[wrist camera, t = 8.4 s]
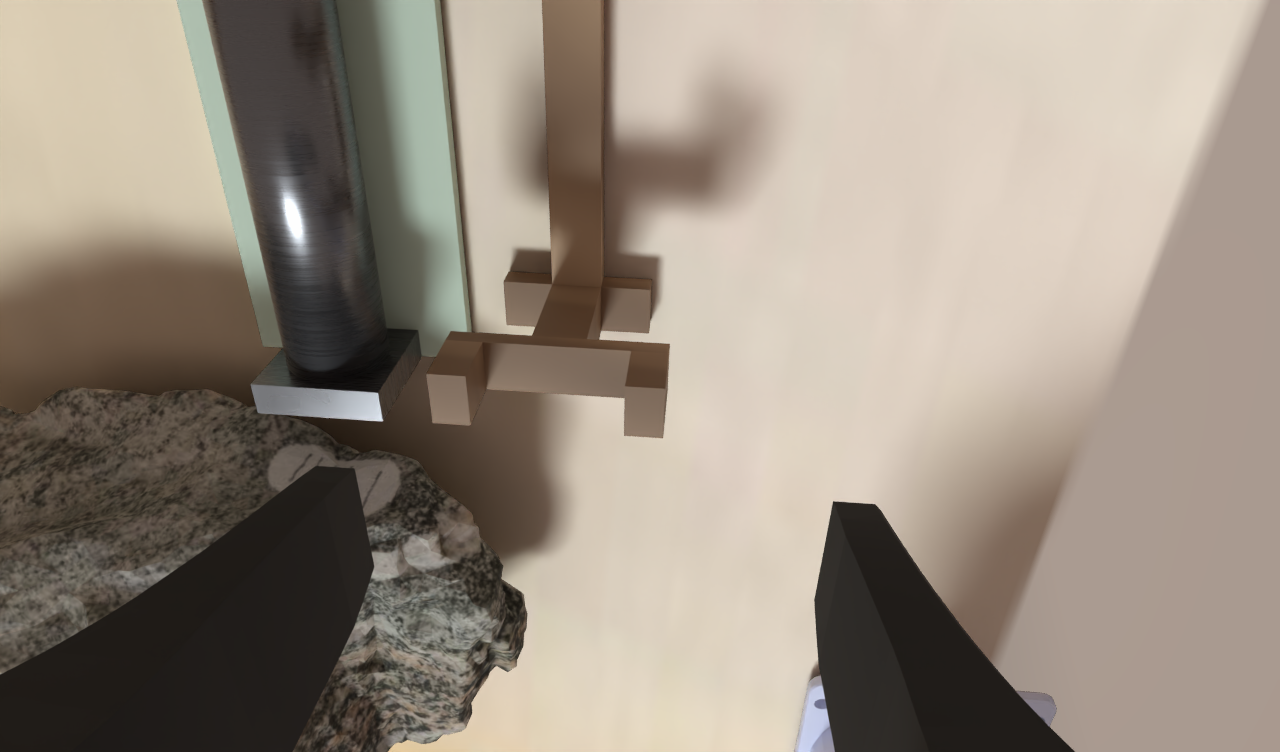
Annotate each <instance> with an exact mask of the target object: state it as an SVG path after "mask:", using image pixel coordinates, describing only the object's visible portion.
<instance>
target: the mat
mask: <svg viewBox="0 0 1280 752" xmlns="http://www.w3.org/2000/svg"><path fill="white" fill-rule="evenodd" d="M336 3H337V9H338V16H339V22H340V29H341V35H342V42H343V48H344V55H345V61H346V68H347V74H348V81H349V87H350V93H351V100H352V106H353V113H354V119H355V126H356V132H357V139H358V145H359V152H360V158H361V165H362V171H363V178H364V184H365V191H366V197H367V203H368V210H369V216H370V223H371V229H372V236H373V242H374V249H375V255H376V262H377V268H378V275H379V281H380V288H381V294H382V301H383V307H384V314H385V320H386V326H387V328H392V329H409V330H418V332H419V339H420V347H421V354H422V356H426V357H436V356H437V354H438V352H439V350H440V349H441V347H442V345H443V343H444V342H445V340H446V338H447V336H448V335H449V333H450V331H459V332H472V329H471V319H470V308H469V298H468V287H467V277H466V266H465V256H464V245H463V235H462V224H461V214H460V204H459V193H458V183H457V172H456V162H455V151H454V141H453V130H452V120H451V109H450V99H449V89H448V78H447V68H446V57H445V47H444V36H443V26H442V15H441V5H440V0H336ZM177 4H178V8H179V12H180V16H181V20H182V24H183V28H184V32H185V36H186V40H187V44H188V48H189V52H190V56H191V60H192V64H193V68H194V72H195V76H196V80H197V84H198V88H199V92H200V96H201V100H202V104H203V108H204V112H205V116H206V120H207V124H208V128H209V132H210V136H211V140H212V144H213V148H214V152H215V156H216V160H217V164H218V168H219V172H220V176H221V180H222V184H223V188H224V192H225V196H226V200H227V204H228V208H229V212H230V216H231V220H232V224H233V228H234V232H235V236H236V240H237V244H238V248H239V252H240V256H241V260H242V264H243V268H244V272H245V276H246V280H247V284H248V288H249V292H250V296H251V300H252V304H253V308H254V312H255V316H256V320H257V324H258V328H259V332H260V336H261V340H262V344H263V347H279V348H283V346H282V342H281V337H280V333H279V329H278V325H277V320H276V316H275V312H274V307H273V303H272V299H271V294H270V290H269V286H268V282H267V277H266V273H265V269H264V264H263V260H262V256H261V252H260V247H259V243H258V239H257V234H256V230H255V226H254V222H253V217H252V213H251V209H250V204H249V200H248V196H247V192H246V187H245V183H244V179H243V174H242V170H241V166H240V162H239V157H238V153H237V149H236V144H235V140H234V136H233V131H232V127H231V123H230V119H229V114H228V110H227V106H226V101H225V97H224V93H223V89H222V84H221V80H220V76H219V71H218V67H217V63H216V59H215V54H214V50H213V46H212V41H211V37H210V33H209V29H208V24H207V20H206V16H205V11H204V7H203V3H202V0H177Z"/></svg>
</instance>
